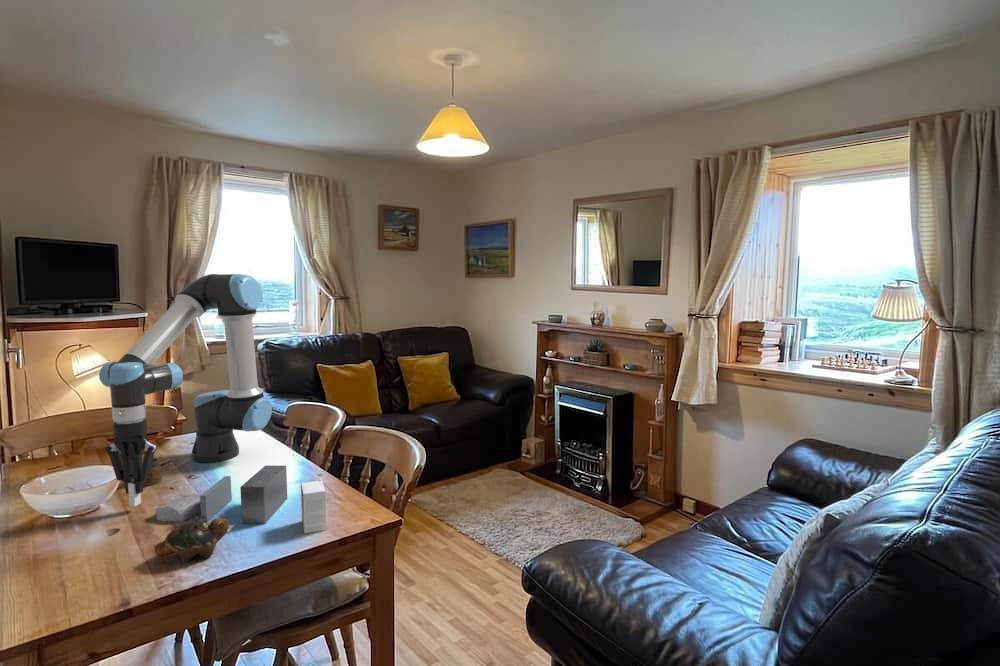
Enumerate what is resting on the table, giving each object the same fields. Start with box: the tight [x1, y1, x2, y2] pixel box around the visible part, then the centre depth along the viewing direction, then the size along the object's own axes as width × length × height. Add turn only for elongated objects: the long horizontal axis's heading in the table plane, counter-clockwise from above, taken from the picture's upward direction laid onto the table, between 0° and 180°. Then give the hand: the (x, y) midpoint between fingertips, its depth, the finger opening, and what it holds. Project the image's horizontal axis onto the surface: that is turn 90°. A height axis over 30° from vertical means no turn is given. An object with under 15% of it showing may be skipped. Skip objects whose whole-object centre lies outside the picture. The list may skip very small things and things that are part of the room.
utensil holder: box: [142, 447, 163, 486], centre depth 170 cm, size 6×6×12 cm
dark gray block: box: [240, 465, 288, 525], centre depth 150 cm, size 16×6×10 cm, turn 1°
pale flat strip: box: [226, 524, 235, 533], centre depth 140 cm, size 3×10×1 cm, turn 91°
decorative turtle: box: [154, 517, 230, 563], centre depth 126 cm, size 10×15×8 cm, turn 123°
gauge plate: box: [198, 475, 233, 522], centre depth 148 cm, size 19×2×7 cm, turn 1°
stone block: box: [155, 492, 202, 523], centre depth 150 cm, size 12×5×10 cm
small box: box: [300, 480, 328, 535], centre depth 142 cm, size 8×6×10 cm
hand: (135, 504), depth 150 cm, fingers closed
